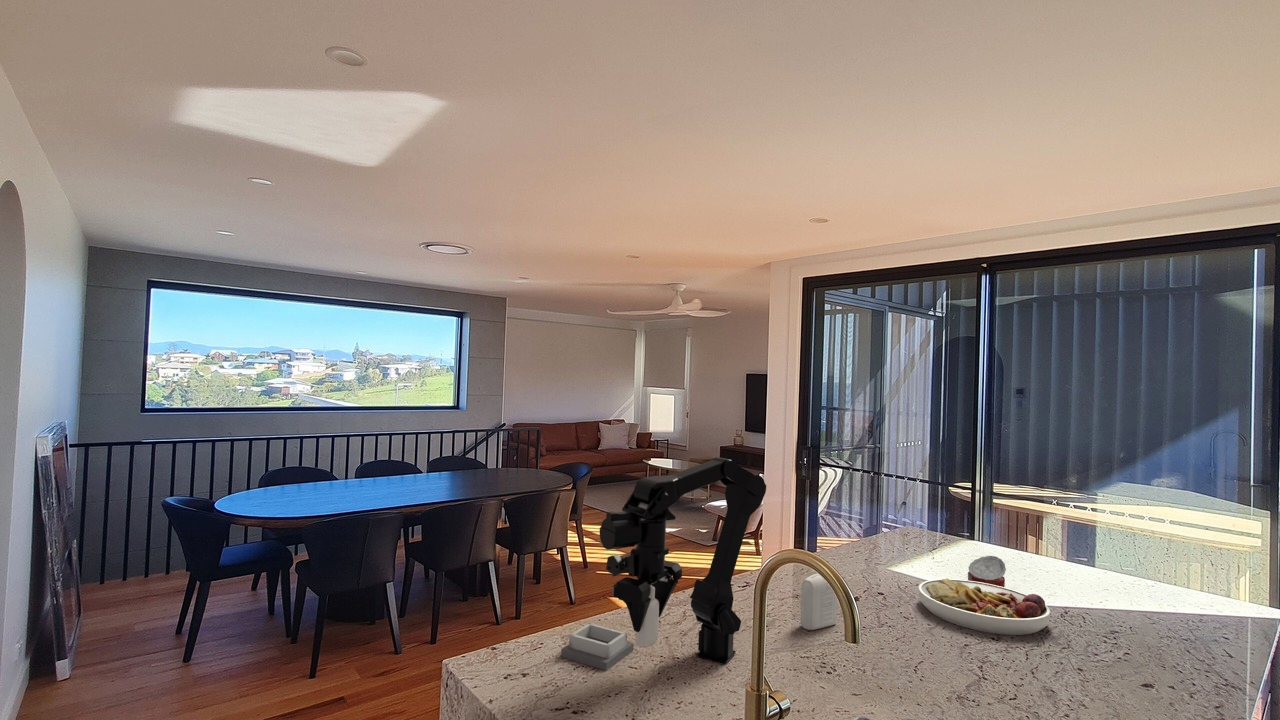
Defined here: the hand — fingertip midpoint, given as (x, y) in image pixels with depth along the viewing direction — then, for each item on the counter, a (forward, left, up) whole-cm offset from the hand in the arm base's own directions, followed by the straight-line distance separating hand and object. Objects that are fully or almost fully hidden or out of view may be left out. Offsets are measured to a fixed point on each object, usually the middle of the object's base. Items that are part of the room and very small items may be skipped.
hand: (647, 624), depth 118 cm
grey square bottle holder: (+13, -3, -10) cm, 17 cm away
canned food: (-61, -109, -10) cm, 125 cm away
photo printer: (-24, -46, -10) cm, 53 cm away
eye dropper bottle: (0, 0, -4) cm, 4 cm away
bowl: (-59, -78, -10) cm, 98 cm away
